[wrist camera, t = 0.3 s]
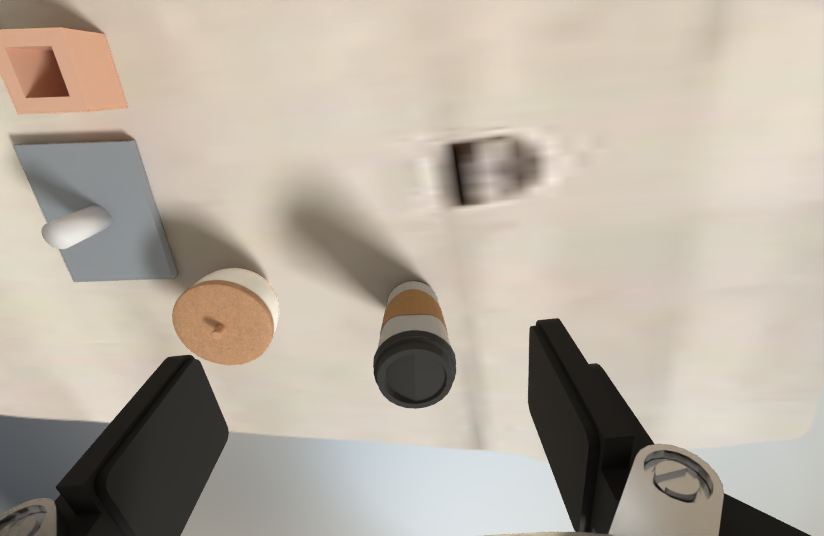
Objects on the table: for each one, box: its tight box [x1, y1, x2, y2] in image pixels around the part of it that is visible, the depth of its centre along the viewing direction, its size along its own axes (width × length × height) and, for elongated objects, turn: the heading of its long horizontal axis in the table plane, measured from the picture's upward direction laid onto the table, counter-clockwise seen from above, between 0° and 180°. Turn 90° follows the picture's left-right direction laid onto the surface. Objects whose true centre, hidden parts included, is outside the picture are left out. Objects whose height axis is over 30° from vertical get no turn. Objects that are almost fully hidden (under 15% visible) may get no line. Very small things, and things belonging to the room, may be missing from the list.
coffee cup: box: [373, 281, 456, 408], centre depth 45 cm, size 8×8×15 cm
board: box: [13, 140, 178, 282], centre depth 43 cm, size 16×12×7 cm
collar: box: [0, 27, 128, 114], centre depth 37 cm, size 7×7×6 cm
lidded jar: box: [172, 268, 280, 365], centre depth 47 cm, size 11×11×9 cm
